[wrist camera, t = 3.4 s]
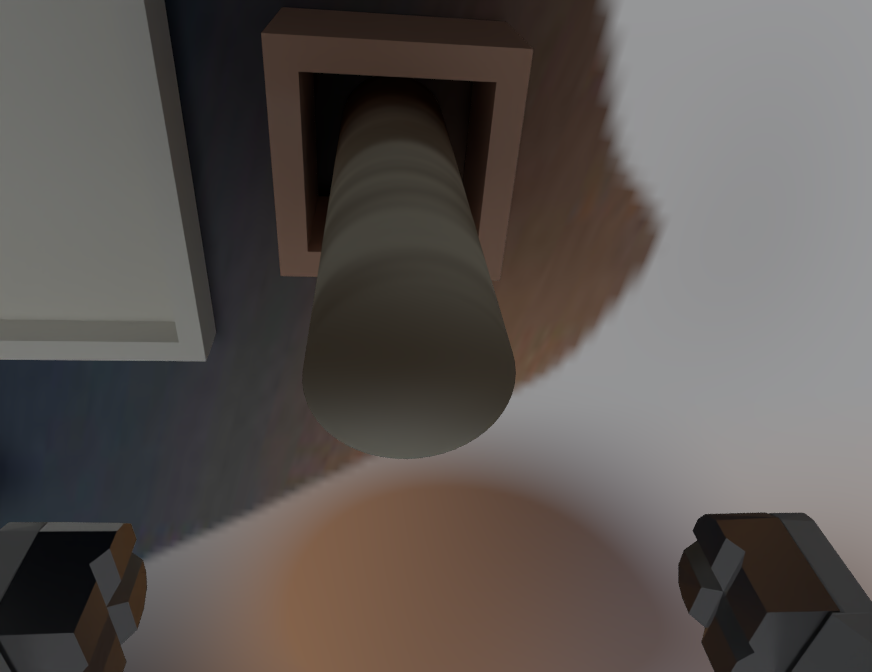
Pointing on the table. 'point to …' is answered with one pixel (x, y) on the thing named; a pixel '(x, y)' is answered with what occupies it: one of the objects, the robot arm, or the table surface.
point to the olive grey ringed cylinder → (403, 288)
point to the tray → (96, 188)
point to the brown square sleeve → (395, 57)
